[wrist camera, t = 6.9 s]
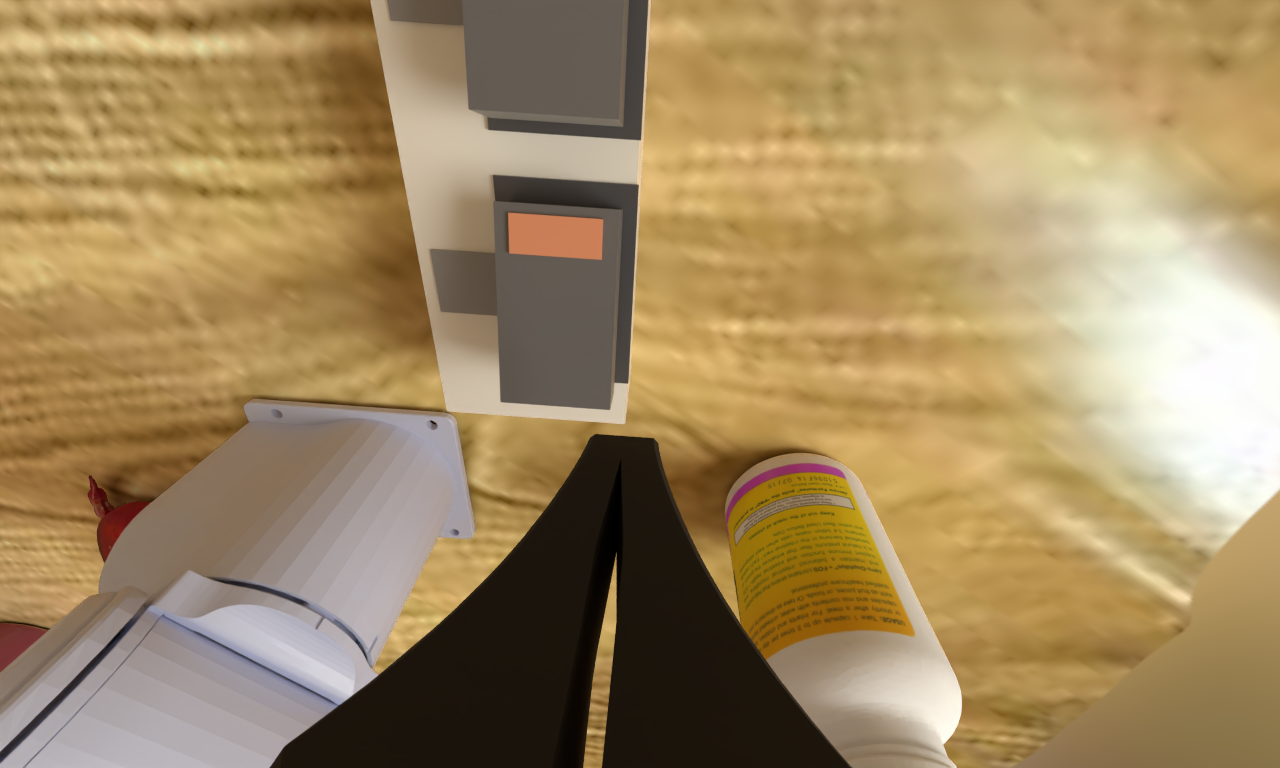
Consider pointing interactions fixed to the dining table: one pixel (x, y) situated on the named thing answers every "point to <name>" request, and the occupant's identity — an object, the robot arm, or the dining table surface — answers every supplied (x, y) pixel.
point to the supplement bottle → (839, 613)
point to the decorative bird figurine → (111, 517)
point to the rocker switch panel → (499, 192)
